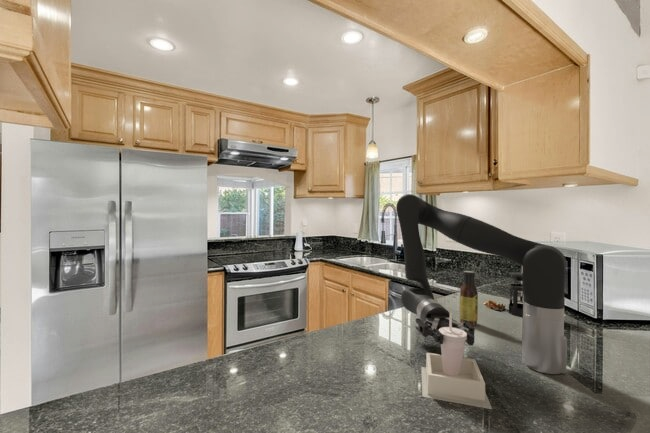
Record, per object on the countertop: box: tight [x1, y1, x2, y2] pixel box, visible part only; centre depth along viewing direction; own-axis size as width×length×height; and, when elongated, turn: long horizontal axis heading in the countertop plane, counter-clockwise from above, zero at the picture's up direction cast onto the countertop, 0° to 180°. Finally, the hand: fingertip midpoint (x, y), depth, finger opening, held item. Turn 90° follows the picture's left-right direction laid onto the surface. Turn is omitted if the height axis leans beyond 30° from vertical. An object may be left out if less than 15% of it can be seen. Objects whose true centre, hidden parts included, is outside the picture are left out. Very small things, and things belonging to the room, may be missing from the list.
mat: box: [420, 366, 493, 410], centre depth 73 cm, size 14×14×1 cm
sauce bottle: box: [459, 270, 479, 327], centre depth 117 cm, size 7×6×20 cm
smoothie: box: [439, 312, 467, 376], centre depth 73 cm, size 6×6×14 cm
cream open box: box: [425, 352, 486, 405], centre depth 73 cm, size 12×12×4 cm
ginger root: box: [483, 299, 509, 312], centre depth 139 cm, size 7×12×4 cm, turn 12°
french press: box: [507, 265, 524, 318], centre depth 129 cm, size 12×9×23 cm
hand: (456, 340), depth 71 cm, fingers closed on smoothie, 6 cm apart
